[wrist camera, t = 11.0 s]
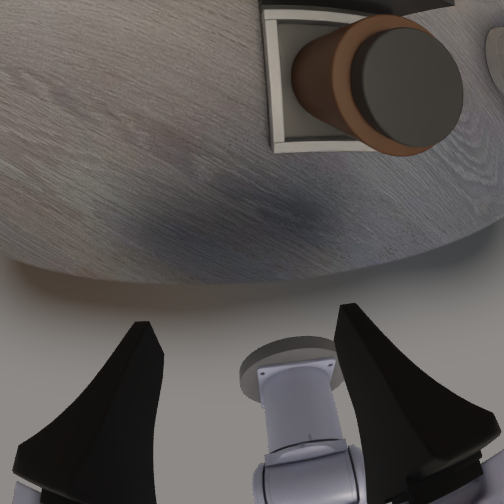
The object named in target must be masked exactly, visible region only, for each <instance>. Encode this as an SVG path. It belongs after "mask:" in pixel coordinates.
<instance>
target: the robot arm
mask: <svg viewBox="0 0 504 504" xmlns="http://www.w3.org/2000/svg"><path fill="white" fill-rule="evenodd" d="M334 343H335V348H336V353H337V357H338V362H339V365H340V368H341V371H342V374H343V377H344V380H345V383H346V386H347V389H348V392H349V395H350V398H351V401H352V404H353V407H354V410H355V414H356V418H357V423H358V428H359V433H360V438H361V445H362V451H361V449H360V448H358V447H355V445H350V446H348V448H347V444H346V440H345V439H343V436H342V432H341V427H340V423H339V419H338V415H337V411H336V407H335V402H334V398H333V395H332V390H331V386H330V382H331V378H332V374H333V370H334V366H335V362H336V360H335V358H334V357H327V358H320V359H313V360H306V361H299V362H290V363H282V364H273V365H262V366H259V367H258V368H257V373H258V381H259V390H260V398H261V406H262V408H264V409H265V414H266V426H267V437H268V448H269V454H266V455H265V463H260V464H259V465H258V467H257V469H256V470H255V471H254V474H253V496H254V501H255V504H387V503H390V502H392V504H504V449H503V450H502V451H500V452H499V453H497V454H496V455H494V456H493V457H491V458H489V459H488V460H486V461H485V462H483V463H481V464H480V461H479V459H480V458H482V453H481V451H480V450H481V449H482V448H484V447H485V446H486V445H488V444H489V443H491V442H492V441H493V440H494V439H496V438H497V437H498V436H499V435H500V433H501V429H500V427H499V425H498V422H497V420H496V418H495V416H494V414H493V413H492V412H490V411H488V410H485V409H483V408H481V407H479V406H476V405H474V404H472V403H470V402H468V401H467V400H465V399H463V398H461V397H459V396H458V395H456V394H454V393H453V392H451V391H450V390H448V389H447V388H445V387H444V386H442V385H441V384H439V383H438V382H436V381H435V380H434V379H432V378H431V377H430V376H428V375H427V374H426V373H424V372H423V371H422V370H421V369H420V368H419V367H417V366H416V365H415V364H414V363H413V362H412V361H411V360H409V359H408V358H407V357H406V356H405V355H404V354H403V353H402V352H401V351H400V350H399V349H398V348H397V347H396V346H395V345H394V344H393V343H392V342H391V341H390V340H389V339H388V338H387V337H386V336H385V335H384V334H383V333H382V332H381V331H380V330H379V329H378V327H377V326H376V325H375V324H374V323H373V322H372V321H371V320H370V319H369V317H368V316H367V315H366V314H365V313H364V312H363V311H362V310H361V308H360V307H359V306H358V305H357V304H356V303H350V304H343V305H340V309H339V314H338V320H337V325H336V331H335V336H334ZM163 367H164V353H163V350H162V348H161V346H160V344H159V342H158V340H157V337H156V335H155V333H154V331H153V329H152V326H151V324H150V322H149V321H143V322H142V321H140V322H135V323H134V324H133V325H132V327H131V328H130V329H129V331H128V332H127V334H126V335H125V337H124V338H123V339H122V341H121V342H120V344H119V345H118V346H117V348H116V349H115V351H114V352H113V353H112V355H111V356H110V358H109V359H108V360H107V362H106V363H105V365H104V366H103V367H102V369H101V370H100V371H99V372H98V374H97V375H96V376H95V378H94V379H93V380H92V382H91V383H90V384H89V385H88V387H87V388H86V389H85V390H84V391H83V392H82V393H81V394H80V396H79V397H78V398H77V399H76V400H75V401H74V402H73V403H72V404H71V405H70V406H69V407H68V408H67V409H66V410H65V411H64V412H62V414H60V415H59V416H58V417H57V418H56V419H55V420H54V421H52V423H50V424H49V425H47V426H46V427H45V428H44V429H42V430H41V431H40V432H38V433H37V434H35V435H34V436H33V437H31V438H30V439H28V440H27V441H25V442H23V443H22V444H20V445H19V446H18V450H17V454H16V457H15V462H14V466H13V470H12V471H13V473H14V474H16V475H18V476H19V477H21V478H23V479H25V480H27V481H29V482H31V483H33V484H35V485H37V486H39V487H41V488H42V492H38V491H36V490H34V489H32V488H30V487H28V486H26V485H24V484H22V483H20V482H18V481H17V482H16V485H15V490H14V496H13V502H12V504H157V503H156V496H155V485H154V473H153V472H154V471H153V439H154V438H153V436H154V426H155V419H156V413H157V407H158V401H159V396H160V390H161V384H162V378H163ZM362 452H363V454H362Z"/></svg>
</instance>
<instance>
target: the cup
mask: <svg viewBox="0 0 504 504" xmlns="http://www.w3.org/2000/svg"><path fill="white" fill-rule="evenodd" d="M485 50H486V60H487V65H488V68H489V72H490V75H491V77H492V79H493V81H494V83H495V85H496V87H497V88H498V90H499V91H500V92H501V93H502V94H503V95H504V27H495V28H493V29H491V30H490V32H489V33H488V35H487V39H486V46H485Z"/></svg>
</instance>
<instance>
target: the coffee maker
mask: <svg viewBox="0 0 504 504" xmlns="http://www.w3.org/2000/svg"><path fill="white" fill-rule="evenodd" d="M454 5H455V3H454V0H259V10H260V21H261V32H262V44H263V56H264V68H265V81H266V95H267V109H268V124H269V140H270V146H271V148H272V150H273V152H274V154H279V153H297V152H326V151H376V150H374V149H372V148H371V147H369V146H367V145H365V144H364V143H362V142H360V141H358V140H357V139H355V138H353V137H351V136H349V135H348V134H346V133H344V132H342V131H340V130H338V129H336V128H335V127H333V126H331V125H329V124H327V123H325V122H323V121H321V120H319V119H317V118H315V117H313V116H312V115H311V114H309V113H308V112H307V111H306V110H305V109H304V108H303V107H302V106H301V104H300V103H299V102H298V100H297V98H296V96H295V94H294V92H293V88H292V84H291V69H292V65H293V62H294V59H295V57H296V56H297V54H298V53H299V51H300V50H301V49H302V48H303V47H304V46H305V45H307V44H308V43H310V42H311V41H313V40H315V39H317V38H319V37H321V36H324V35H326V34H328V33H330V32H332V31H334V30H337V29H339V28H341V27H344V26H346V25H348V24H351V23H353V22H356V21H358V20H361V19H363V18H366V17H369V16H373V15H380V14H389V15H396V16H404V15H409V14H413V13H417V12H422V11H427V10H432V9H437V8H443V7H449V6H454ZM377 152H379V151H377Z"/></svg>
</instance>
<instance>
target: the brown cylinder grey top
mask: <svg viewBox="0 0 504 504" xmlns="http://www.w3.org/2000/svg"><path fill="white" fill-rule="evenodd" d="M291 84H292V88H293V92H294V94H295V96H296V98H297V100H298V102H299V103H300V104H301V106H302V107H303V108H304V109H305V110H306V111H307V112H308V113H309V114H311V115H312V116H313V117H315V118H317V119H319V120H321V121H323V122H325V123H327V124H329V125H331V126H333V127H335V128H336V129H338V130H340V131H342V132H344V133H346V134H348V135H349V136H351V137H353V138H355V139H357V140H358V141H360V142H362V143H364V144H365V145H367V146H369V147H371V148H372V149H374V150H376V151H379V152H381V153H383V154H387V155H391V156H411V155H416V154H419V153H422V152H424V151H426V150H428V149H430V148H431V147H432V146H434V145H435V144H437V143H439V142H440V141H442V140H443V139H445V138H446V137H447V136H448V135H449V134H450V133H451V131H452V130H453V129H454V127H455V126H456V124H457V122H458V120H459V117H460V114H461V111H462V106H463V84H462V79H461V75H460V72H459V69H458V67H457V65H456V63H455V61H454V59H453V57H452V56H451V54H450V53H449V52H448V50H447V49H446V48H445V47H444V46H443V45H442V44H441V43H440V42H439V41H438V40H437V39H436V38H435V37H434V36H433V35H432V34H431V33H429V32H428V31H427V30H426V29H425V28H423V27H422V26H420V25H419V24H417V23H415V22H413V21H411V20H409V19H406V18H403V17H400V16H396V15H389V14H380V15H373V16H369V17H366V18H363V19H361V20H358V21H356V22H353V23H351V24H348V25H346V26H344V27H341V28H339V29H337V30H334V31H332V32H330V33H328V34H326V35H324V36H321V37H319V38H317V39H315V40H313V41H311V42H310V43H308V44H307V45H305V46H304V47H303V48H302V49H301V50H300V51H299V53H298V54H297V56H296V57H295V59H294V62H293V65H292V69H291Z"/></svg>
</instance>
